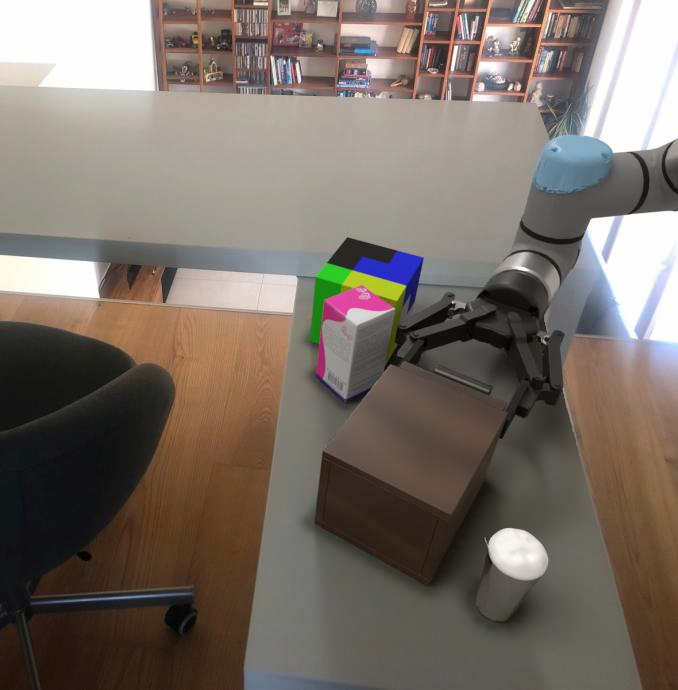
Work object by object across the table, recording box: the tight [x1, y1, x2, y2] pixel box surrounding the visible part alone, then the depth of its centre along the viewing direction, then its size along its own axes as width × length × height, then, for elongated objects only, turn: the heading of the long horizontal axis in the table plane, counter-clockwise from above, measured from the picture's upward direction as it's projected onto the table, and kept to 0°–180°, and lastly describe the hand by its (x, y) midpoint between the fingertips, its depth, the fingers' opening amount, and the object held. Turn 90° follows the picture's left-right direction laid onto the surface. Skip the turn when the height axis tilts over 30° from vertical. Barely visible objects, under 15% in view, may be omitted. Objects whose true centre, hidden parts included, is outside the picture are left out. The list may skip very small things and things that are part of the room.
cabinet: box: [313, 363, 508, 586], centre depth 66 cm, size 14×12×11 cm
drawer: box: [399, 361, 508, 411], centre depth 69 cm, size 17×11×9 cm, turn 144°
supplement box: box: [315, 285, 395, 403], centre depth 79 cm, size 6×6×12 cm
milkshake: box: [475, 527, 549, 622], centre depth 58 cm, size 5×5×10 cm
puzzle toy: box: [309, 236, 425, 366], centre depth 87 cm, size 10×10×10 cm
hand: (445, 405), depth 70 cm, fingers closed on drawer, 11 cm apart
